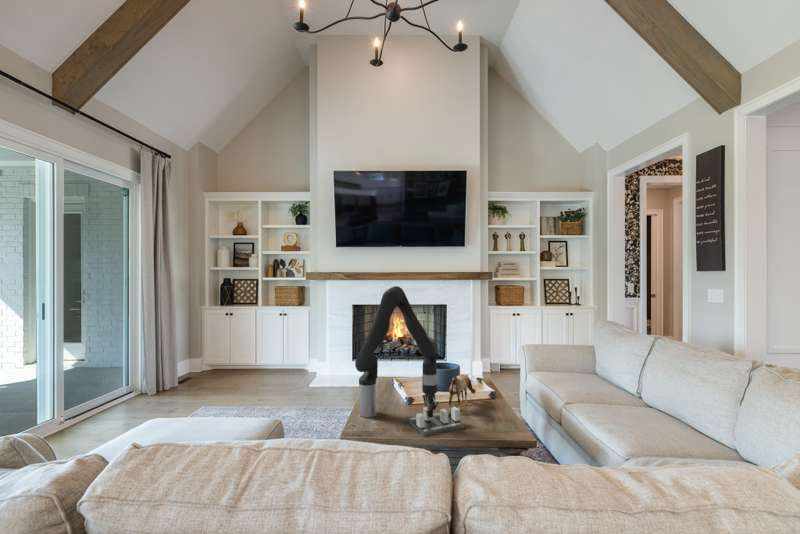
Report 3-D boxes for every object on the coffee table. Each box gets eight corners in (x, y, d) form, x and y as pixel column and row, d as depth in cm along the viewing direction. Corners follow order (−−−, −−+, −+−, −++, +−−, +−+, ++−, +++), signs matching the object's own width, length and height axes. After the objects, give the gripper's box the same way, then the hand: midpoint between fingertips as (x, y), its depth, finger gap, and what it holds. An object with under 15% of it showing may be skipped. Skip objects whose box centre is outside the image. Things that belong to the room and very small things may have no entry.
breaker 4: (451, 418, 207) (451, 407, 207) (455, 417, 208) (455, 406, 207) (455, 421, 203) (455, 410, 203) (459, 420, 204) (459, 409, 204)
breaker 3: (440, 420, 204) (439, 409, 204) (444, 419, 205) (444, 408, 205) (443, 423, 201) (443, 412, 200) (448, 422, 202) (448, 411, 201)
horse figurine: (456, 418, 212) (455, 379, 211) (442, 416, 216) (441, 377, 215) (476, 399, 239) (476, 365, 238) (464, 397, 242) (463, 363, 242)
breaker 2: (423, 418, 207) (422, 407, 207) (427, 417, 208) (427, 406, 208) (426, 421, 204) (426, 410, 203) (431, 420, 205) (431, 409, 204)
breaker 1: (416, 425, 199) (416, 413, 199) (421, 424, 200) (420, 413, 200) (419, 428, 196) (419, 416, 196) (424, 427, 197) (424, 416, 196)
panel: (407, 422, 209) (407, 418, 209) (446, 414, 217) (446, 411, 217) (422, 436, 192) (422, 432, 192) (464, 428, 200) (464, 423, 200)
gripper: (417, 379, 206) (418, 413, 207) (428, 387, 194) (429, 423, 194) (430, 377, 209) (431, 411, 210) (442, 385, 197) (443, 420, 197)
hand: (430, 416), depth 202 cm, fingers closed
